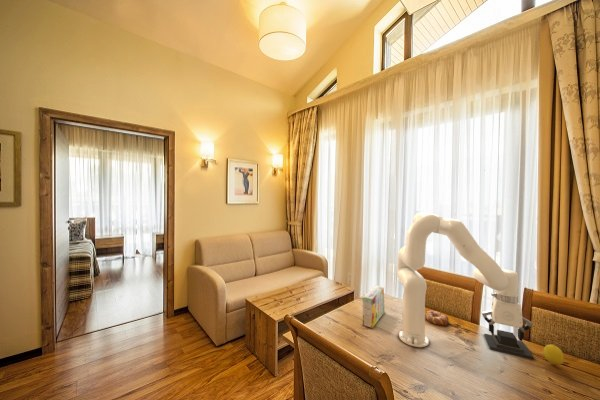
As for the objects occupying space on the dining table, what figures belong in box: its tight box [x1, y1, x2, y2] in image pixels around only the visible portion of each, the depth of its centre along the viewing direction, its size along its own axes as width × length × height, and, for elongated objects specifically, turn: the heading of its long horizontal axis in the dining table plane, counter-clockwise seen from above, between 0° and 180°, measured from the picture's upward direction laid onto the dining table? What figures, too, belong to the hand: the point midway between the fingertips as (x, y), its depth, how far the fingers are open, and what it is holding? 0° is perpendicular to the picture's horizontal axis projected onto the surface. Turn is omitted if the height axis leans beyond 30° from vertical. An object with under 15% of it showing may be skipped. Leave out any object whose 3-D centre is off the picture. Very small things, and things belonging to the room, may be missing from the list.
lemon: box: [542, 344, 565, 366], centre depth 93 cm, size 6×6×8 cm
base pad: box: [483, 333, 534, 360], centre depth 104 cm, size 12×14×2 cm
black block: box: [496, 329, 518, 348], centre depth 104 cm, size 6×6×4 cm
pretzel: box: [425, 310, 449, 326], centre depth 127 cm, size 12×11×4 cm
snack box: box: [362, 284, 386, 329], centre depth 129 cm, size 21×6×15 cm, turn 144°
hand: (505, 336), depth 105 cm, fingers open, 9 cm apart
